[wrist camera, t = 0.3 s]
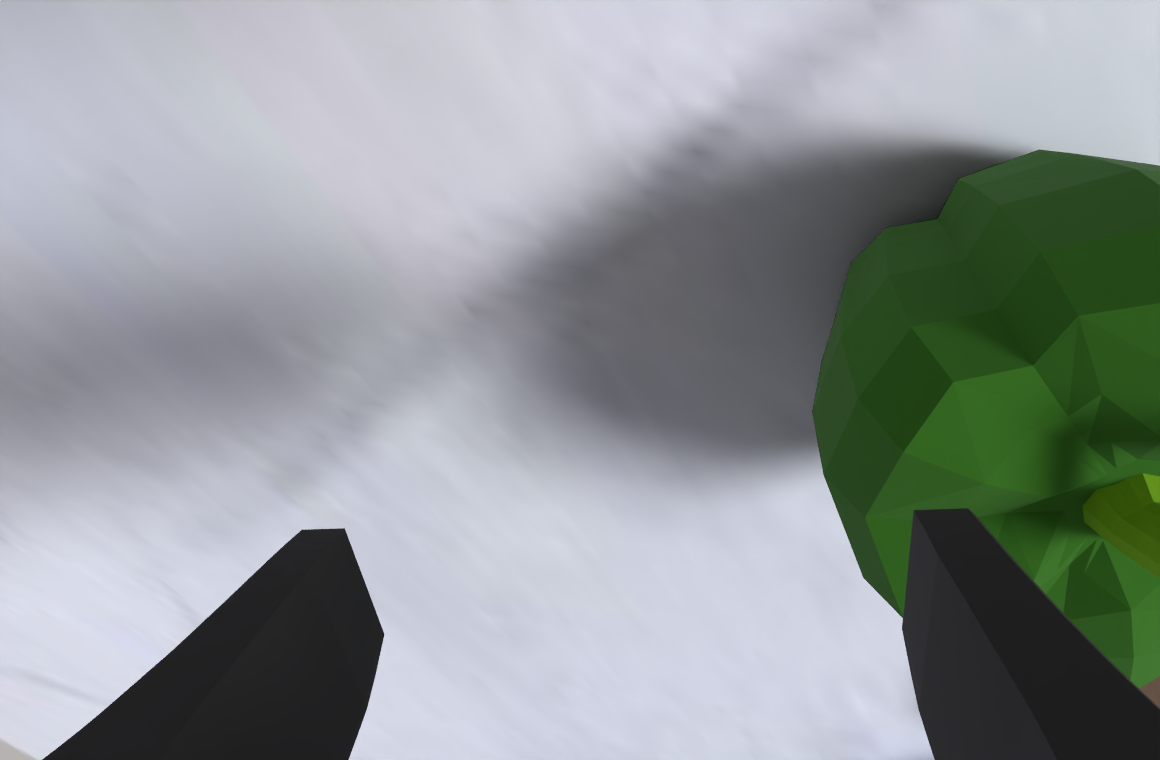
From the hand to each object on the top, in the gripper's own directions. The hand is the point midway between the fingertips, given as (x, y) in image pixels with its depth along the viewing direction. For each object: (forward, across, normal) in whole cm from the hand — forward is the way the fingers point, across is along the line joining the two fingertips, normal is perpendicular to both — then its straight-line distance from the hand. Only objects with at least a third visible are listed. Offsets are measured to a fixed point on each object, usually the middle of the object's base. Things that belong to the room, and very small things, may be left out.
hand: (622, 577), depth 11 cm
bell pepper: (+10, -7, +2) cm, 13 cm away
